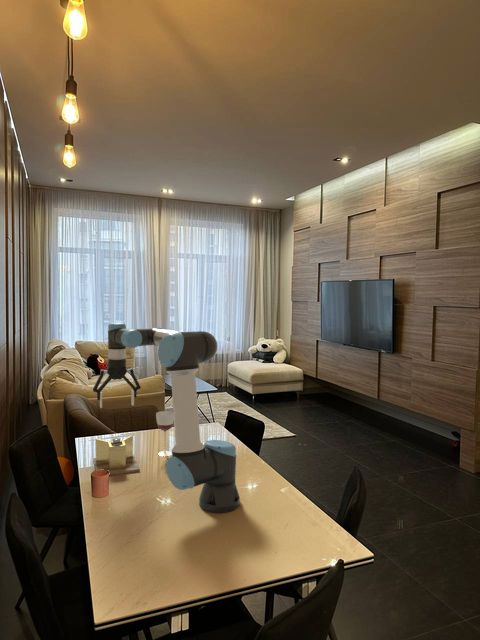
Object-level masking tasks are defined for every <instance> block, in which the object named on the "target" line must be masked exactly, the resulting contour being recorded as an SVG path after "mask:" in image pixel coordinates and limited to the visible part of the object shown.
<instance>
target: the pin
mask: <svg viewBox="0 0 480 640" xmlns="http://www.w3.org/2000/svg"><path fill="white" fill-rule="evenodd" d="M120 441H121V438H120V437H115V438H113V439H112V442H113V446H116V445H120Z"/></svg>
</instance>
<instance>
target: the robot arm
mask: <svg viewBox="0 0 480 640" xmlns="http://www.w3.org/2000/svg"><path fill="white" fill-rule="evenodd" d="M144 346H146V347H147V346H155V347H158V349H157V358H158V361H159V364H160V365H161V366H163V367H165V371H166V373H167V374H168V375H170V381H171V393H172V394H171V395H172V410H173V411H172V412H174V421H173V425H174V436H175V437H174V438H175V444H174V445H173V447H172V448H171V452H172V455H171V456H170V457H169V458H168V459H167V460H166V463H165V470H166V474H167V478H168V480H169V481H170V483H171V484H172V486H174V488H175V489H177V490H181V491H184V490H188V489H189V490H190V489H193V488H195V487H198V486H200V485H202V487H201V491H200V494H199V498H198V499H199V500H198V503H199V504H198V505H199V507H200V508H201V509H203V510H204V511H206V512H210V513H213V514H214V513H215V514H216V513H218V514H220V513H221V514H222V513H223V514H224V513H229V512H233V511H234V510H237V509H238V508H239V507H240V502H241V501H240V500H241V499H240V493H239V491H238V486H237V484H236V475H237V474H236V473H237V471H236V470H237V469H236V468H237V454H236V453H237V452H236V451H237V449H236V445H234V444H233V443H232V442H230V441H227V440H226V441H225V440H221V439H210V440H209V439H208V440H207V441H204V443H203V442H202V441H201V436H200V433H201V432H200V421H199V408H198V406H199V405H198V393H197V382H196V381H197V380H196V373H197V372H198V371H199V369H200V364H202V363H206V362H209V361H211V359H213V358H214V356H215V355H216V353H217V351H218V342H217V339H216V338H215V335H212V334H211V333H210V332H207V331H202V330H199V331H179V330H171V329H167V328H165V327H149V328H127V326H126V324H125V323H123V322H111V323H109V324H108V327H107V358H108V359H107V369H100V373H99V376H98V378H97V380H96V382H95V384H94V386H93V388H92V392H93V393H96V398H97V399H96V400H97V401H99V408H100V409H102V408H103V392H102V391H103V390H104V388H105V387H106V386H107V385H108V384H109V383H110V382H111V380H119V381H120V380H123V381H125V382H126V383H127V384H128V386H130V387H131V388H132V389H131V397H130V398H131V401H130V402H131V406H132V407H133V406H135V398H137V394H138V393H137V391H138V390H141V387H142V386H140V383H139V381H138V379H137V377H136V376H135V374H134V373H135V372H134V369H133V368H132V367H130V368H128V369H127V359H126V357H127V349H126V348H133V349H135V348H137V347H144ZM127 373H128V374H130V376H131V378H132V380H133V382H134V384H135V385H134V384H133V383H132V381H130V379H128V378H127V377H126V374H127ZM106 374H107V375H108V376H107V378H106V379H105V380H104V381H103V383H102V384H101V381H102V380H103V378H104V376H105V375H106ZM100 384H101V385H100Z"/></svg>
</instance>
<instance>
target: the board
mask: <svg viewBox="0 0 480 640" xmlns="http://www.w3.org/2000/svg"><path fill="white" fill-rule="evenodd" d="M93 464H94V465H93V466H94V470H100V469H104V470H109V473H110V475H109V476H115V475H124V474H131V473H132V474H133V473H137V472H140V471H141V469H140V466H139V464H138V461H137V459H136V457H135V455H134V454H133V456H132V457H131V458H129V459H128V460H126V467H125V468H118V469H109V465H108V464H107V463H103V462H99V461H96V457H93Z"/></svg>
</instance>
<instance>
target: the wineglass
mask: <svg viewBox="0 0 480 640" xmlns="http://www.w3.org/2000/svg"><path fill="white" fill-rule="evenodd" d="M155 418H156V424H157V427H158V429H159V430H161V431H163V436H164V437H163V438H164V439H163V441H164V442H163V450H161V451H159V453H158V452H157V453H158V455H159V457H163V456H164V457H169V456H170V457H171V456H172V451H170V450H167V449H166V448H167V443H166V442H167V441H166V440H167V438H166V437H167V431H169V430H170V429H172V427H173V425H174V412H173V411H170V410H169V411H168V410H165V411H164V410H163V411H161V410H160V411H156V413H155ZM158 455H157V456H158Z"/></svg>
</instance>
